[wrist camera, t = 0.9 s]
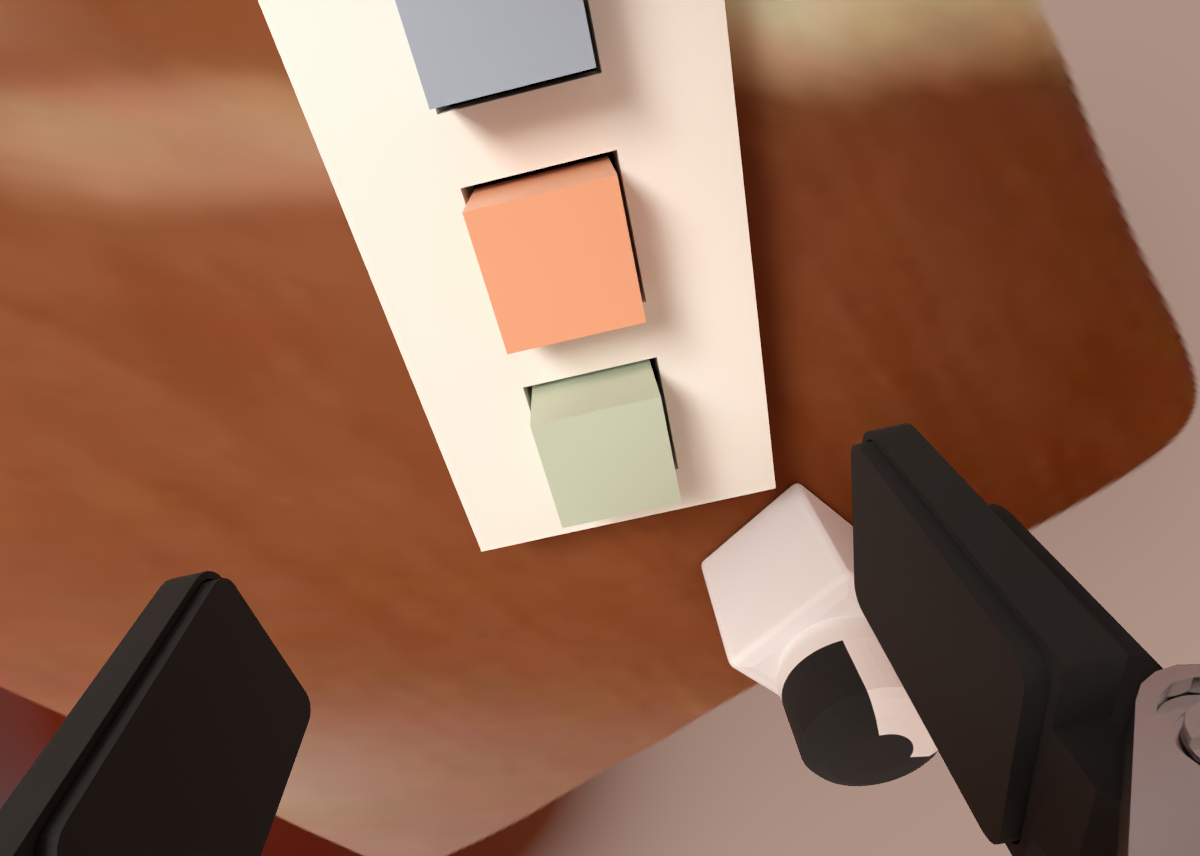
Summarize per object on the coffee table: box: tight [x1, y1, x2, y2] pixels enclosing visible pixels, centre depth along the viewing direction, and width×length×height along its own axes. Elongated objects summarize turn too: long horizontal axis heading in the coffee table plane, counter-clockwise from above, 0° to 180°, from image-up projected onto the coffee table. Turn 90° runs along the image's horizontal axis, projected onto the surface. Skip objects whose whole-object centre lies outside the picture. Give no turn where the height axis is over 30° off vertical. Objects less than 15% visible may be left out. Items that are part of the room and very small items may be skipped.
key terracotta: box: [462, 156, 646, 354], centre depth 24 cm, size 5×5×4 cm
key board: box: [258, 0, 776, 551], centre depth 26 cm, size 26×14×3 cm, turn 12°
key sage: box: [530, 359, 682, 528], centre depth 28 cm, size 5×5×4 cm
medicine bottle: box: [702, 483, 938, 786], centre depth 32 cm, size 7×7×12 cm
